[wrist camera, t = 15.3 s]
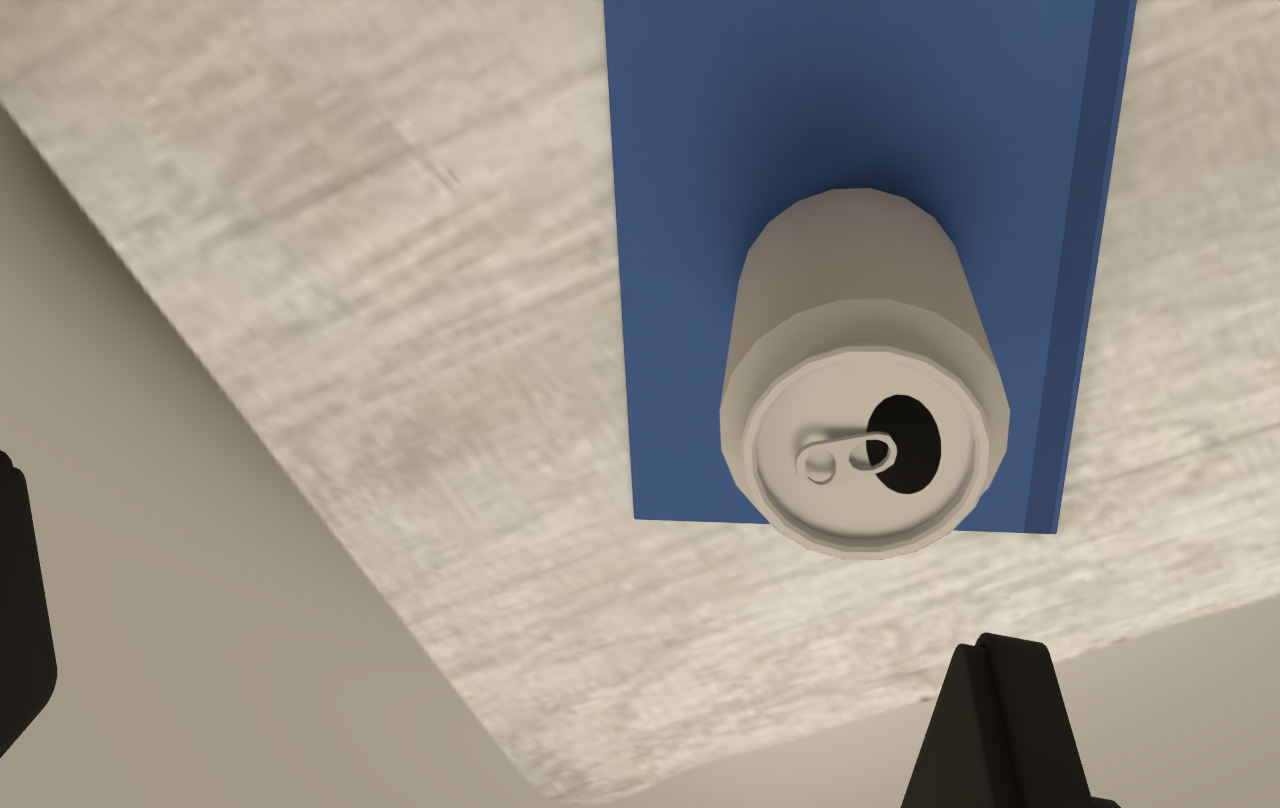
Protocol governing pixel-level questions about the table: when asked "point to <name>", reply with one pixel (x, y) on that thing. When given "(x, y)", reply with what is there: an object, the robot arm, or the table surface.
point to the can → (860, 379)
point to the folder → (848, 159)
